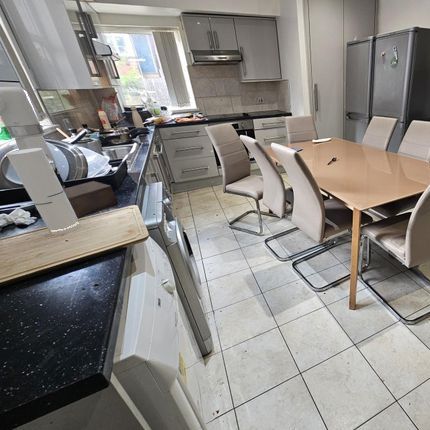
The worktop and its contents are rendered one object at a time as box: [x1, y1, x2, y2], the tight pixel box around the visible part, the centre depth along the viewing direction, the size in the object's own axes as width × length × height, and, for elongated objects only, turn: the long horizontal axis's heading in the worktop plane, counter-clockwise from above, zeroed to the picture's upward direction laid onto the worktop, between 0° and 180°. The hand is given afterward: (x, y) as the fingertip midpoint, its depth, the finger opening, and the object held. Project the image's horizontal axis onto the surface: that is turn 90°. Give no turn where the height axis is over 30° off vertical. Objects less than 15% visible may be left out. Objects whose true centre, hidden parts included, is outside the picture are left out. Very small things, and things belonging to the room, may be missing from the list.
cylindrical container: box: [5, 148, 82, 236], centre depth 78 cm, size 7×7×25 cm
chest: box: [69, 187, 119, 219], centre depth 99 cm, size 13×13×7 cm
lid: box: [62, 180, 112, 200], centre depth 96 cm, size 14×13×5 cm
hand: (52, 184), depth 90 cm, fingers open, 9 cm apart
